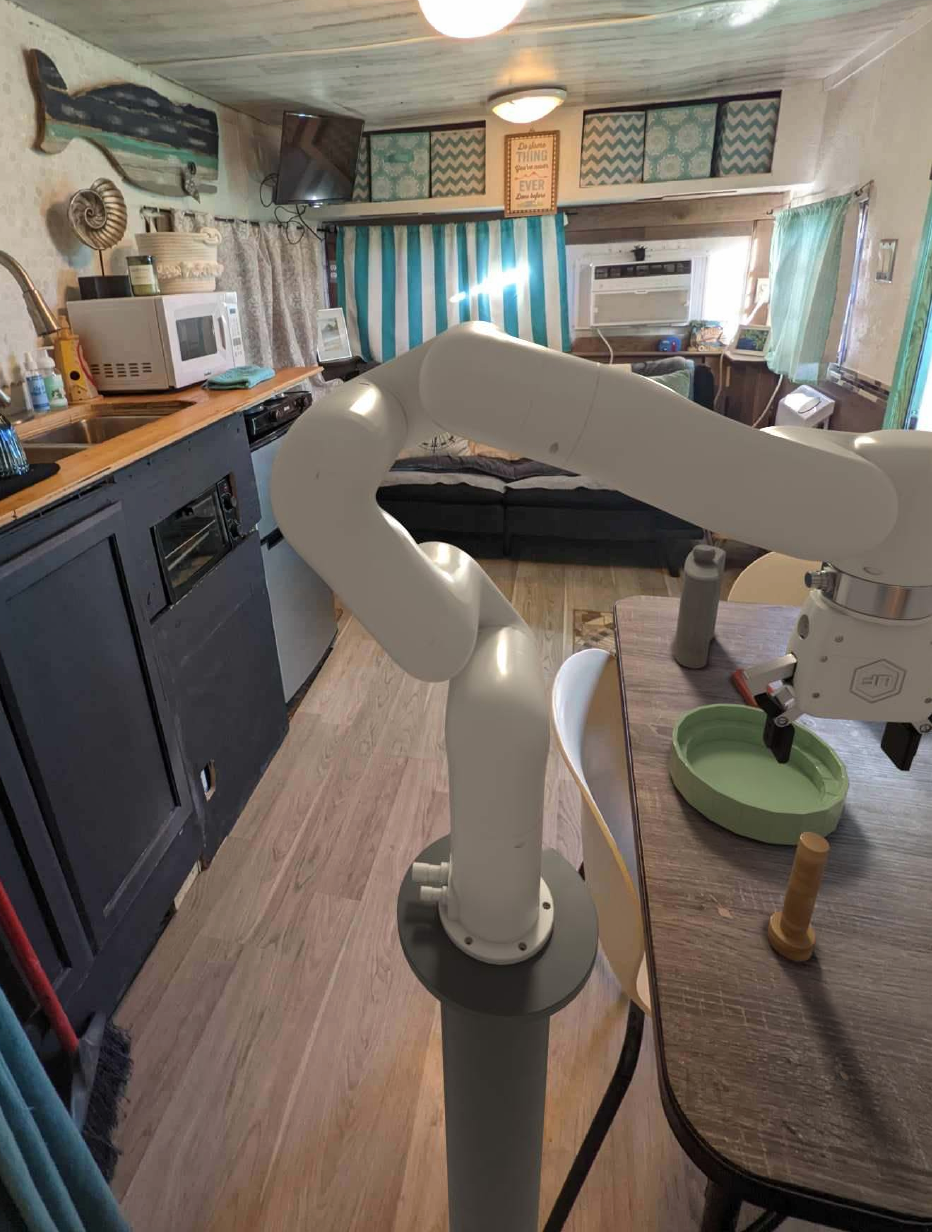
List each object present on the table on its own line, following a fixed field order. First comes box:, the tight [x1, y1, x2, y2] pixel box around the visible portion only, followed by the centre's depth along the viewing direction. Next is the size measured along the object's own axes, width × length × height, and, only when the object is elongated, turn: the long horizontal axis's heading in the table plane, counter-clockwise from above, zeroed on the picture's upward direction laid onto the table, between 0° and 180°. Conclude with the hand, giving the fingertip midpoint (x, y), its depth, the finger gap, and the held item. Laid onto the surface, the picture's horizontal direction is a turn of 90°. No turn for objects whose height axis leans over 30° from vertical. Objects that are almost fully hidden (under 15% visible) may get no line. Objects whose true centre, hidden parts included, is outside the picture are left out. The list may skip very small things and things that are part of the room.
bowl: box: [667, 703, 850, 846], centre depth 84 cm, size 20×20×6 cm
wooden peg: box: [766, 832, 831, 962], centre depth 62 cm, size 4×4×14 cm
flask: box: [673, 544, 727, 669], centre depth 112 cm, size 15×6×20 cm, turn 148°
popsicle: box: [732, 668, 786, 709], centre depth 100 cm, size 4×2×15 cm
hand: (834, 756), depth 56 cm, fingers open, 9 cm apart
